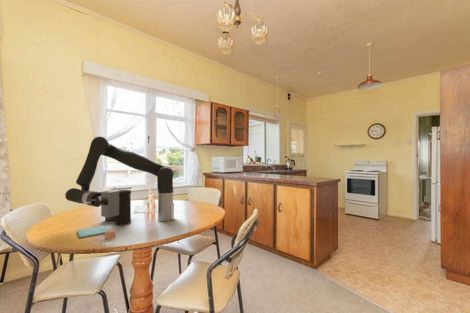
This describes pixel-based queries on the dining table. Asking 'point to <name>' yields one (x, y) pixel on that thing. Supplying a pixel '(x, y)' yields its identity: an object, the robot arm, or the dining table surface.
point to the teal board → (92, 231)
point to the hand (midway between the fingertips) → (113, 202)
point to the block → (110, 234)
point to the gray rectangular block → (110, 203)
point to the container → (124, 208)
